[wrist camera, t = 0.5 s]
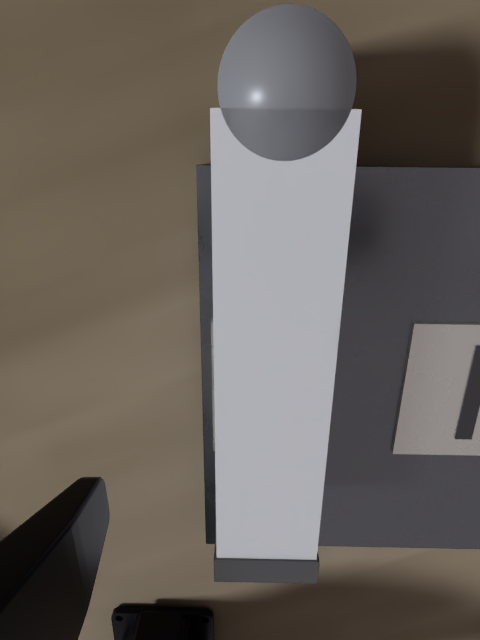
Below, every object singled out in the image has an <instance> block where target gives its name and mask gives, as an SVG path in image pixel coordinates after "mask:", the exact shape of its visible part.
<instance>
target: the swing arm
mask: <svg viewBox="0 0 480 640" xmlns="http://www.w3.org/2000/svg"><path fill="white" fill-rule="evenodd" d="M356 83H357V75H356V65H355V60H354V56H353V53H352V50H351V47H350V45H349V43H348V41H347V39H346V37H345V36H344V34H343V33H342V31H341V30H340V29H339V27H338V26H337V25H336V24H335V23H334V22H333V21H332V20H331V19H330V18H328V17H327V16H326V15H324V14H323V13H321V12H319V11H317V10H315V9H313V8H310V7H307V6H303V5H297V4H282V5H277V6H273V7H269V8H267V9H264V10H262V11H260V12H258V13H257V14H255V15H253V16H252V17H251V18H249V19H248V20H247V21H246V22H245V23H244V24H243V25H242V26H241V27H240V28H239V29H238V30H237V31H236V33H235V34H234V35H233V36H232V38H231V40H230V41H229V43H228V45H227V47H226V49H225V52H224V54H223V56H222V60H221V63H220V67H219V73H218V86H217V87H218V99H219V104H220V108H210V135H211V205H212V275H213V345H214V415H215V485H216V540H215V552H214V582H260V583H308V584H317V581H318V571H319V557H318V551H317V550H318V540H319V530H320V521H321V511H322V501H323V491H324V481H325V471H326V461H327V451H328V441H329V431H330V421H331V411H332V401H333V391H334V381H335V371H336V362H337V352H338V342H339V332H340V322H341V312H342V302H343V292H344V282H345V272H346V262H347V252H348V242H349V232H350V222H351V213H352V203H353V193H354V183H355V173H356V163H357V153H358V143H359V133H360V123H361V113H362V109H352V106H353V102H354V99H355V93H356Z"/></svg>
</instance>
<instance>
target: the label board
mask: <svg viewBox="0 0 480 640" xmlns="http://www.w3.org/2000/svg"><path fill="white" fill-rule="evenodd" d="M196 172H197V211H198V250H199V289H200V327H201V366H202V405H203V443H204V482H205V521H206V544H215V540H216V485H215V415H214V345H213V275H212V205H211V165H196ZM318 546H350V547H400V548H450V549H480V168H465V167H366V166H356V173H355V183H354V193H353V203H352V213H351V222H350V232H349V242H348V252H347V262H346V272H345V282H344V292H343V302H342V312H341V322H340V332H339V342H338V352H337V362H336V371H335V381H334V391H333V401H332V411H331V421H330V431H329V441H328V451H327V461H326V471H325V481H324V491H323V501H322V511H321V521H320V530H319V540H318Z"/></svg>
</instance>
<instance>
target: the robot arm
mask: <svg viewBox="0 0 480 640" xmlns="http://www.w3.org/2000/svg"><path fill="white" fill-rule="evenodd" d="M108 524H109V505H108V499H107V493H106V487H105V482H104V480H103V479H102V478H101V477H83V478H80V479H78V480H77V481H75V482H74V483H73V484H72V485H70V486H69V487H68V488H67V489H65V490H64V491H63V492H62V493H60V494H59V495H58V496H57V497H55V498H54V499H53V500H52V501H50V502H49V503H48V504H47V505H45V506H44V507H43V508H42V509H40V510H39V511H38V512H37V513H35V514H34V515H33V516H31V517H30V518H29V519H28V520H26V521H25V522H24V523H23V524H21V525H20V526H19V527H18V528H16V529H15V530H14V531H13V532H11V533H10V534H9V535H8V536H6V537H5V538H4V539H3V540H1V541H0V640H78V637H79V634H80V631H81V629H82V626H83V623H84V620H85V616H86V613H87V610H88V607H89V603H90V599H91V595H92V591H93V587H94V583H95V579H96V574H97V570H98V566H99V562H100V558H101V554H102V549H103V545H104V541H105V537H106V533H107V528H108ZM111 619H112V626H113V633H114V640H214V614H213V612H212V611H211V610H209V609H193V608H146V607H117V608H115V609H114V610H113V614H112V618H111Z"/></svg>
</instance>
